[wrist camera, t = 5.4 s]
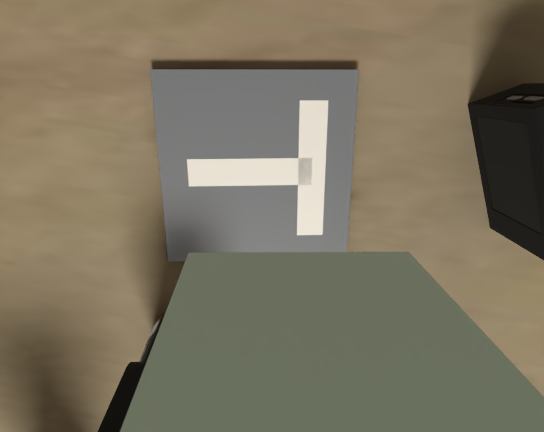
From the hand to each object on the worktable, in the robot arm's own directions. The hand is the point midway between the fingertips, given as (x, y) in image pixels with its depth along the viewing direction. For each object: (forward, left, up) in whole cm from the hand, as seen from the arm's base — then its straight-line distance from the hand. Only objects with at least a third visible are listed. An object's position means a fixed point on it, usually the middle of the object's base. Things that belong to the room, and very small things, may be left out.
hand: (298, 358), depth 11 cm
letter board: (+1, -1, -19) cm, 19 cm away
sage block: (0, 0, -1) cm, 1 cm away
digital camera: (-19, -2, -20) cm, 27 cm away
